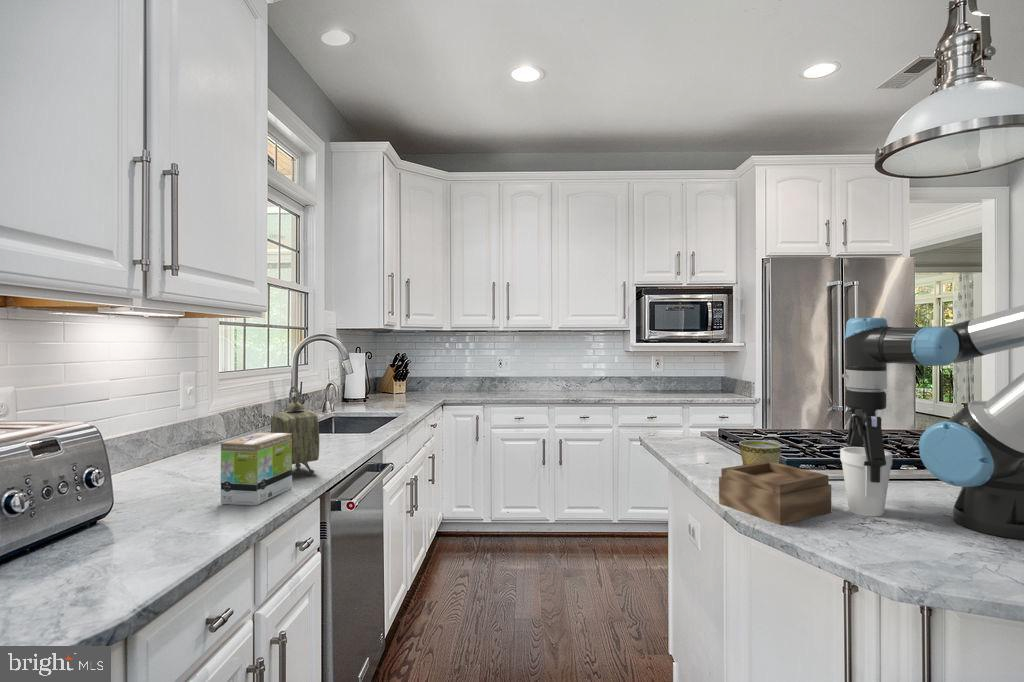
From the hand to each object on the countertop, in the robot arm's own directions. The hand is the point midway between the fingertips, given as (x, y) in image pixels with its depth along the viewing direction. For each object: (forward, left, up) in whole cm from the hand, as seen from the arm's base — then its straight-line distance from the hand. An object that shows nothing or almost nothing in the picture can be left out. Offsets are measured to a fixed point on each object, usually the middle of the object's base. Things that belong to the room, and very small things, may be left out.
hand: (864, 488), depth 120 cm
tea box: (+77, +117, -5) cm, 140 cm away
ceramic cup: (+27, -1, -5) cm, 27 cm away
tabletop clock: (+96, +107, -5) cm, 144 cm away
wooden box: (+11, +15, -5) cm, 19 cm away
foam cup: (0, 0, -5) cm, 5 cm away
